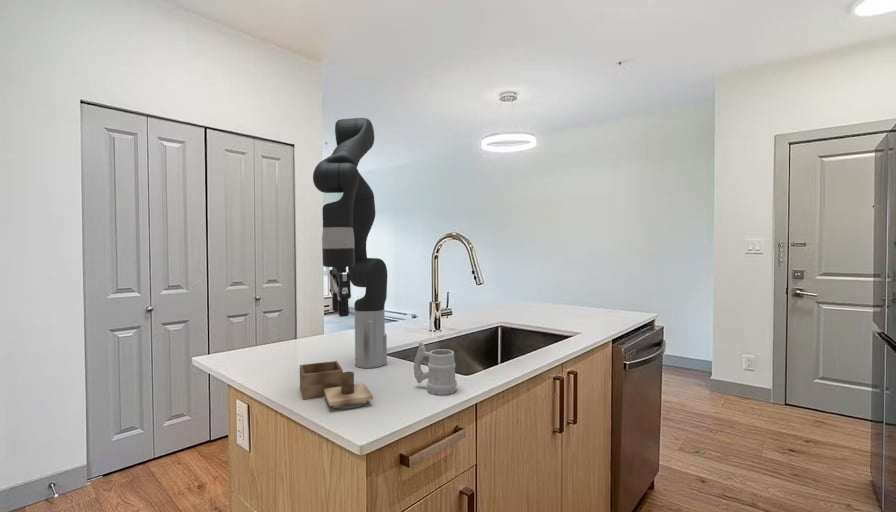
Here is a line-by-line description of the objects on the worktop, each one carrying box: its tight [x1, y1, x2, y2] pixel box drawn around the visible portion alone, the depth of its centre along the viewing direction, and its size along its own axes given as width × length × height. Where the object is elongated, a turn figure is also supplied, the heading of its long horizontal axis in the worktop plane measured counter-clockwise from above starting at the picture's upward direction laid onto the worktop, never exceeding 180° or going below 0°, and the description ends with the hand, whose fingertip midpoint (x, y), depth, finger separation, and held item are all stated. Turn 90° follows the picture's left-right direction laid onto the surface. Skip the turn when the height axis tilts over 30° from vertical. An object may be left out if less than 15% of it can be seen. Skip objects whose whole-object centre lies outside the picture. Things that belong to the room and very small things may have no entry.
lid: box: [324, 371, 374, 409], centre depth 102 cm, size 10×10×6 cm
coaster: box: [329, 400, 369, 410], centre depth 102 cm, size 9×9×1 cm
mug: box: [413, 341, 458, 396], centre depth 110 cm, size 8×12×12 cm, turn 68°
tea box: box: [299, 360, 344, 401], centre depth 110 cm, size 10×10×6 cm
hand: (340, 313), depth 104 cm, fingers open, 8 cm apart
